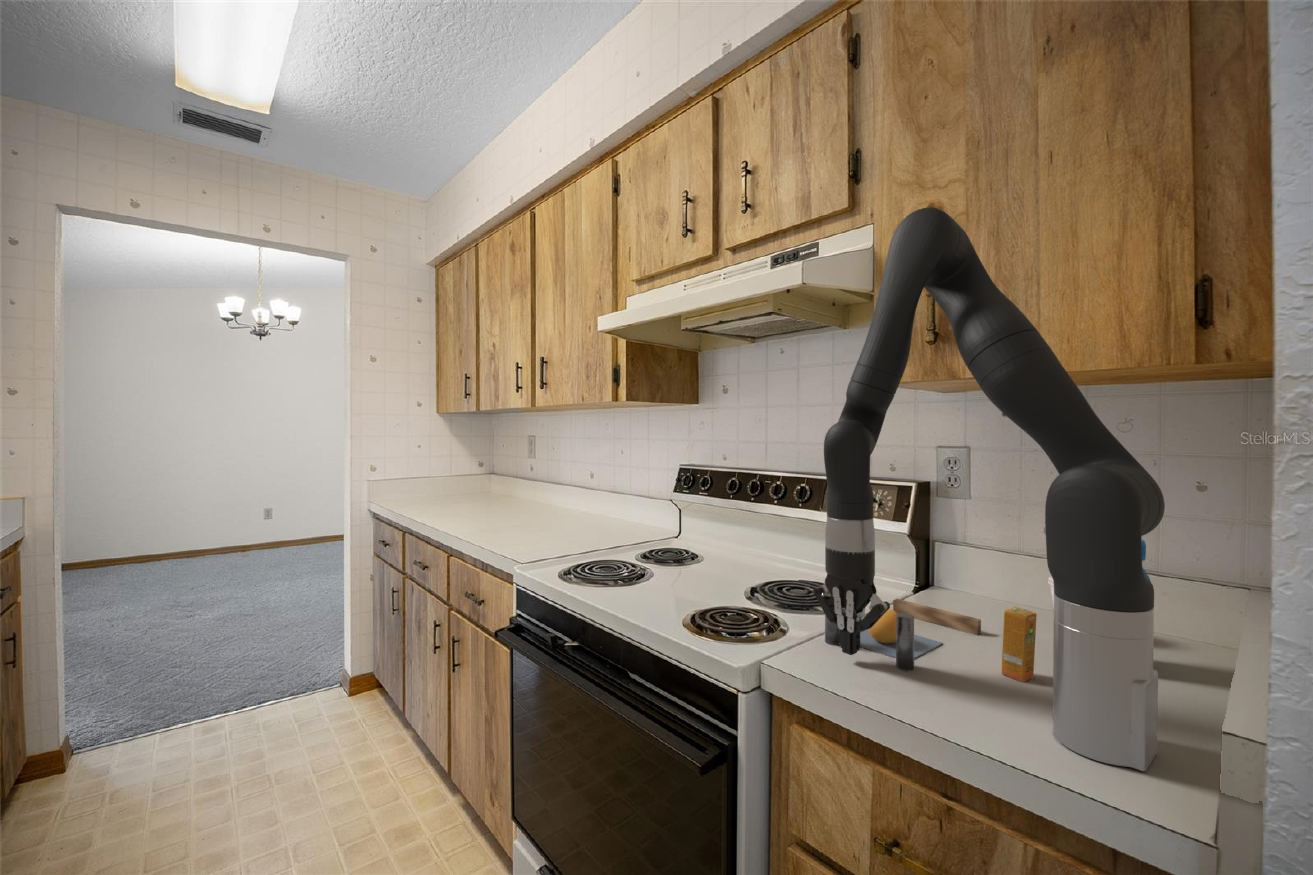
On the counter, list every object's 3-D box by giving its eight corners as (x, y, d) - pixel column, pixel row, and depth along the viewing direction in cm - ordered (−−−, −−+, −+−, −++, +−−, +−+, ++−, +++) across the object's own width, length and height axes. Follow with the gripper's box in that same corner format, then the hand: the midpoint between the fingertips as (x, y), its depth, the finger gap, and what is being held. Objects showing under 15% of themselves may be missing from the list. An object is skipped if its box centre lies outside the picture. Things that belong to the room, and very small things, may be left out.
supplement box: (1025, 683, 82) (1025, 615, 82) (1000, 674, 85) (1001, 609, 85) (1036, 678, 84) (1037, 611, 84) (1012, 669, 87) (1012, 605, 87)
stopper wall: (980, 633, 102) (981, 619, 102) (977, 635, 101) (977, 621, 101) (896, 610, 115) (896, 598, 115) (893, 612, 114) (893, 600, 114)
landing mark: (942, 644, 97) (942, 642, 97) (908, 662, 90) (908, 661, 90) (878, 625, 107) (878, 624, 107) (842, 640, 99) (842, 639, 99)
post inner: (917, 667, 88) (917, 616, 88) (908, 672, 86) (909, 620, 86) (901, 662, 90) (901, 612, 90) (892, 666, 88) (892, 615, 88)
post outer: (843, 642, 98) (843, 597, 98) (834, 646, 97) (834, 600, 96) (830, 638, 100) (830, 593, 100) (821, 641, 99) (821, 596, 99)
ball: (910, 610, 97) (890, 625, 93) (910, 639, 98) (890, 655, 95) (879, 596, 101) (859, 610, 98) (880, 625, 103) (859, 640, 100)
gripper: (901, 548, 87) (901, 659, 87) (828, 536, 97) (828, 635, 98) (875, 556, 82) (875, 673, 83) (801, 541, 93) (801, 646, 93)
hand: (849, 652), depth 90 cm, fingers closed
